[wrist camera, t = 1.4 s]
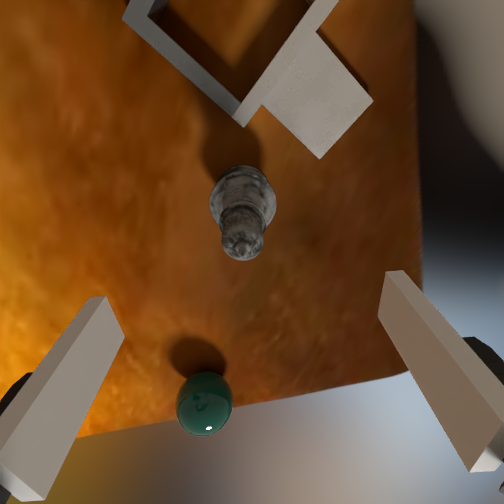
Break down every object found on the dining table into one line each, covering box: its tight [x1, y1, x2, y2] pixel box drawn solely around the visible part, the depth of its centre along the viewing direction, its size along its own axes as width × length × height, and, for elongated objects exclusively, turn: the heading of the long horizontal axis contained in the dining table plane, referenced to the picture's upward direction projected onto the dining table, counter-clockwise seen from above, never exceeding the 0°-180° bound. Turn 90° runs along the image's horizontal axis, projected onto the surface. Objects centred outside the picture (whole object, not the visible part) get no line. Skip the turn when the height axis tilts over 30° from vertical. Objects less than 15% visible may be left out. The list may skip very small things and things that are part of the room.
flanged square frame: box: [122, 0, 373, 159], centre depth 19 cm, size 24×10×2 cm, turn 50°
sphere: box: [175, 371, 233, 436], centre depth 38 cm, size 8×8×8 cm
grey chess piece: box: [209, 165, 276, 260], centre depth 22 cm, size 6×6×12 cm
